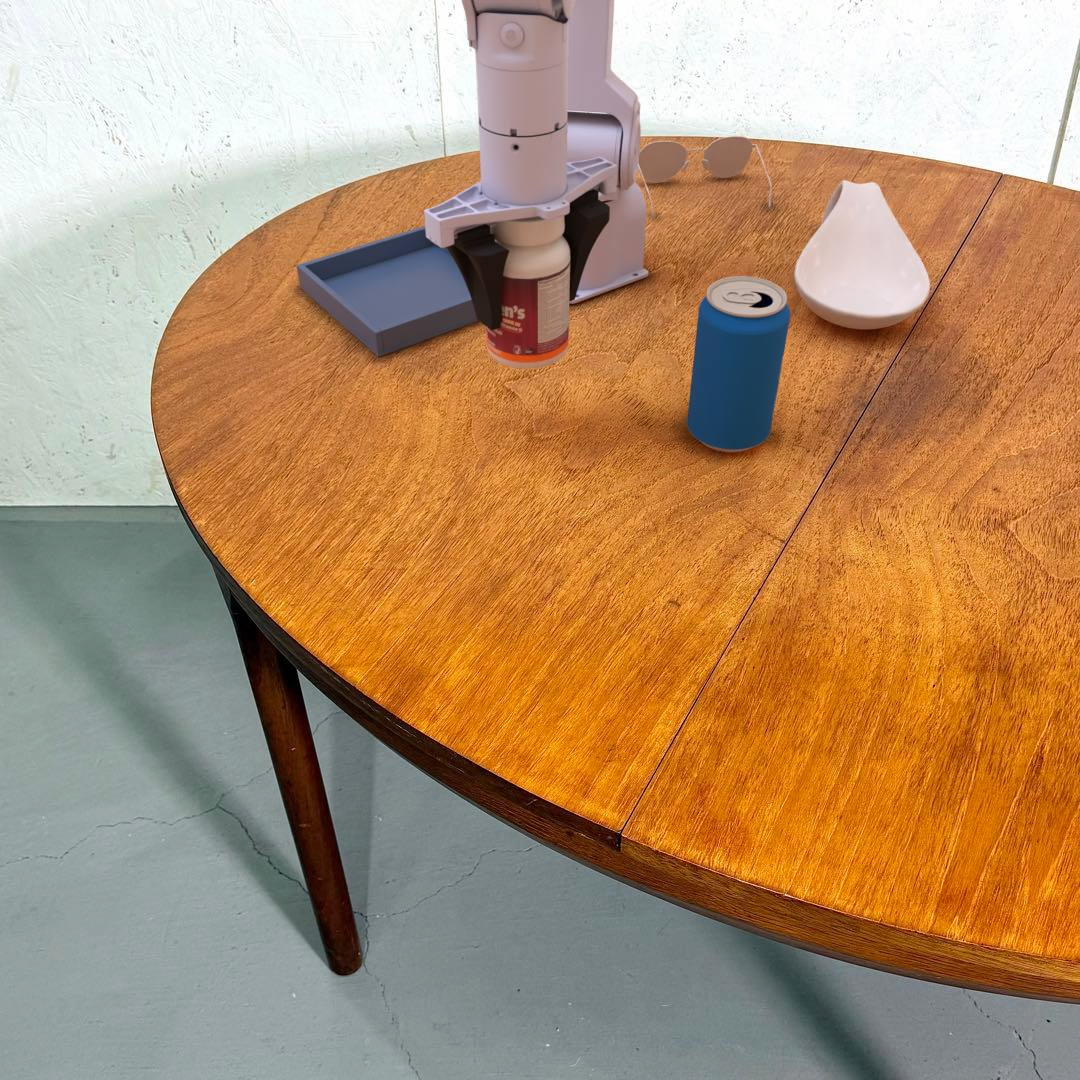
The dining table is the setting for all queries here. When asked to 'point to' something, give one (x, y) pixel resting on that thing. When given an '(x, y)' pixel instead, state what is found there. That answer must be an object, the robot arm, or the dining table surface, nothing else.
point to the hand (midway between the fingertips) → (526, 309)
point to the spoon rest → (861, 263)
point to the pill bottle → (532, 294)
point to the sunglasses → (719, 160)
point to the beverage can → (737, 362)
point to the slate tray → (391, 290)
